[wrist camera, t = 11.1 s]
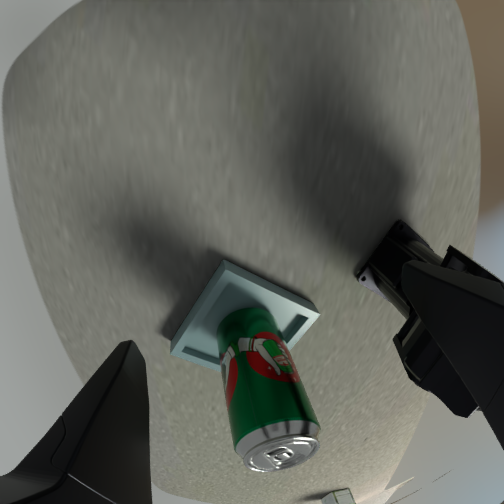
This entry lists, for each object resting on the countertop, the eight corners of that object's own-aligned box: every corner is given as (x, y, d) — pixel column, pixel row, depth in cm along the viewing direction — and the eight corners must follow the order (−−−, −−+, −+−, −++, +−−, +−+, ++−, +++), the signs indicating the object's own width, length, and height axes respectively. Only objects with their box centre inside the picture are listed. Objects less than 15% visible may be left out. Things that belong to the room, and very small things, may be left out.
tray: (313, 303, 26) (320, 314, 24) (256, 371, 28) (259, 383, 27) (223, 259, 22) (225, 269, 21) (170, 341, 25) (170, 354, 23)
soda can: (236, 359, 26) (263, 480, 15) (203, 323, 24) (218, 459, 13) (286, 332, 25) (336, 450, 15) (258, 292, 23) (308, 422, 12)
